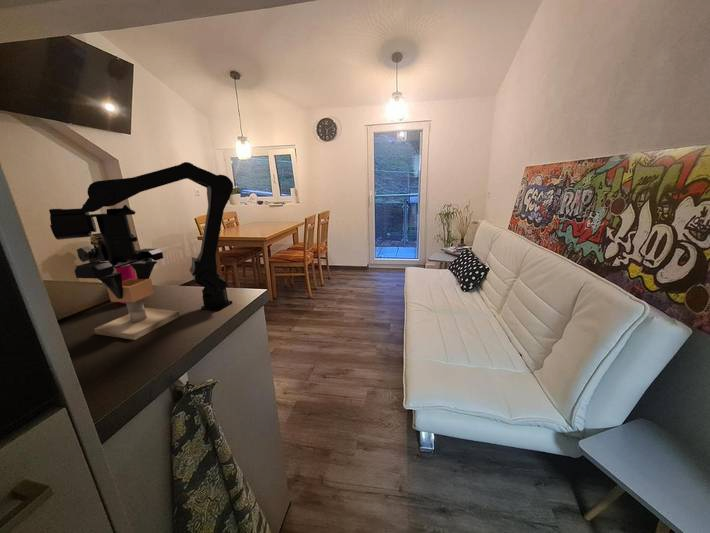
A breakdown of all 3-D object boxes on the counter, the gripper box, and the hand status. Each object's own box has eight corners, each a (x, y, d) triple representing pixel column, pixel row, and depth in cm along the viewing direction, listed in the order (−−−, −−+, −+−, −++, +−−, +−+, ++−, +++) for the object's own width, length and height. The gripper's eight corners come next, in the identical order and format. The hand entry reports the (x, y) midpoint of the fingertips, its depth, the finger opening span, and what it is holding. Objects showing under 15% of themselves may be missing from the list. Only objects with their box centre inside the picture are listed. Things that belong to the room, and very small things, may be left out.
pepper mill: (117, 306, 87) (99, 244, 82) (119, 299, 93) (102, 240, 87) (145, 300, 91) (130, 241, 86) (145, 294, 97) (131, 238, 91)
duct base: (144, 312, 82) (138, 288, 80) (179, 316, 79) (174, 291, 77) (95, 333, 70) (87, 306, 68) (134, 339, 67) (126, 311, 65)
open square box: (133, 292, 76) (130, 278, 75) (154, 293, 75) (150, 279, 74) (111, 301, 70) (106, 286, 69) (133, 302, 69) (129, 287, 68)
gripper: (123, 228, 78) (137, 281, 82) (43, 241, 60) (66, 307, 65) (158, 228, 76) (170, 282, 81) (87, 241, 59) (107, 309, 63)
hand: (132, 293), depth 72 cm, fingers closed on open square box, 6 cm apart
